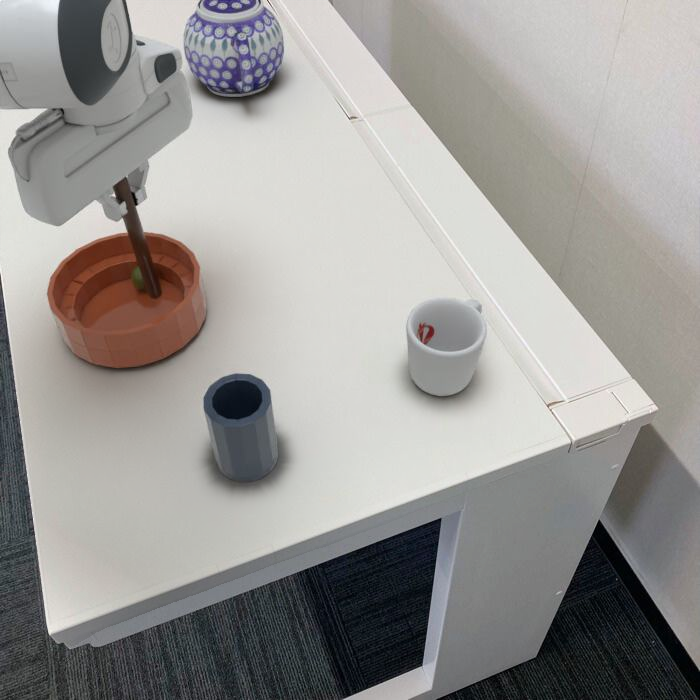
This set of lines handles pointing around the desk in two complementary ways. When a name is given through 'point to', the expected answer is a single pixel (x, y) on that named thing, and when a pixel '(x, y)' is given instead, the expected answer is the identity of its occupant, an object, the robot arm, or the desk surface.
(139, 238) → the stick
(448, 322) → the cup
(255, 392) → the crock
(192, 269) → the bowl
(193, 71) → the teapot
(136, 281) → the bead
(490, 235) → the desk surface
